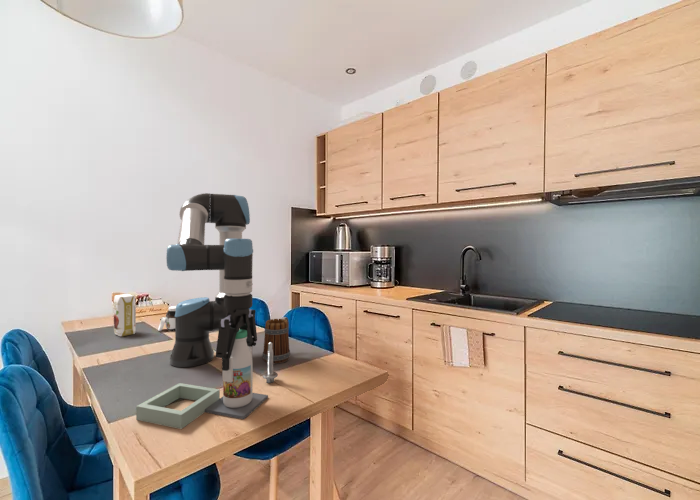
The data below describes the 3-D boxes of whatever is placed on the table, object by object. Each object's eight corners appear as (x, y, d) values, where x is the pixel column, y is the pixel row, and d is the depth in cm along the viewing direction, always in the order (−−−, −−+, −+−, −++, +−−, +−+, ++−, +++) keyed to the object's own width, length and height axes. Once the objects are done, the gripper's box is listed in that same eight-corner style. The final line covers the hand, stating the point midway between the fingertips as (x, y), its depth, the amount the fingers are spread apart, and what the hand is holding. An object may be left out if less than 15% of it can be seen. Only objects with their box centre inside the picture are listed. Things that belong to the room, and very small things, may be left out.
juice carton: (130, 330, 160) (130, 293, 160) (137, 333, 155) (137, 295, 154) (112, 334, 154) (112, 295, 153) (119, 337, 149) (119, 297, 148)
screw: (277, 377, 107) (278, 383, 102) (262, 379, 106) (262, 385, 101) (277, 339, 107) (278, 343, 102) (262, 340, 105) (262, 345, 101)
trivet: (204, 412, 85) (204, 409, 85) (232, 392, 96) (232, 389, 96) (243, 419, 82) (243, 416, 82) (267, 397, 93) (267, 395, 93)
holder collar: (136, 419, 81) (136, 406, 81) (179, 394, 94) (179, 382, 94) (181, 429, 77) (181, 414, 77) (219, 401, 91) (219, 389, 90)
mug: (283, 365, 118) (283, 325, 117) (257, 362, 120) (257, 323, 120) (298, 351, 133) (299, 315, 133) (275, 349, 135) (275, 314, 135)
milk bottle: (227, 395, 92) (228, 327, 92) (254, 394, 93) (255, 327, 93) (219, 409, 85) (219, 335, 84) (248, 408, 85) (249, 334, 85)
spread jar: (188, 329, 164) (188, 306, 164) (166, 334, 155) (166, 310, 155) (175, 325, 171) (176, 304, 171) (153, 330, 161) (153, 307, 161)
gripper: (225, 301, 77) (225, 393, 78) (269, 289, 97) (269, 362, 98) (199, 299, 79) (199, 389, 80) (248, 288, 99) (248, 359, 100)
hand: (237, 374), depth 89 cm, fingers open, 8 cm apart
